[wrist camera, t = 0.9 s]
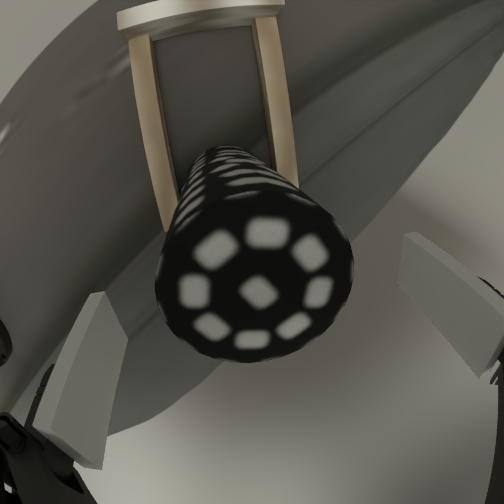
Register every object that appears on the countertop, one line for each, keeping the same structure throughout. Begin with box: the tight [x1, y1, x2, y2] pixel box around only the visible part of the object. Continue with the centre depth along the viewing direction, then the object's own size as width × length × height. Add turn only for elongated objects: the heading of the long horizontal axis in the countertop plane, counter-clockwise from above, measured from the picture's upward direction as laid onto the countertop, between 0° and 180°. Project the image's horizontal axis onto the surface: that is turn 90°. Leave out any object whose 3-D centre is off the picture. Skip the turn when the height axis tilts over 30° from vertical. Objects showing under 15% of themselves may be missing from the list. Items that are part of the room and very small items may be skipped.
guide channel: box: [117, 0, 299, 232], centre depth 23 cm, size 14×22×6 cm, turn 8°
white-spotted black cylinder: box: [155, 145, 354, 363], centre depth 20 cm, size 8×8×20 cm
